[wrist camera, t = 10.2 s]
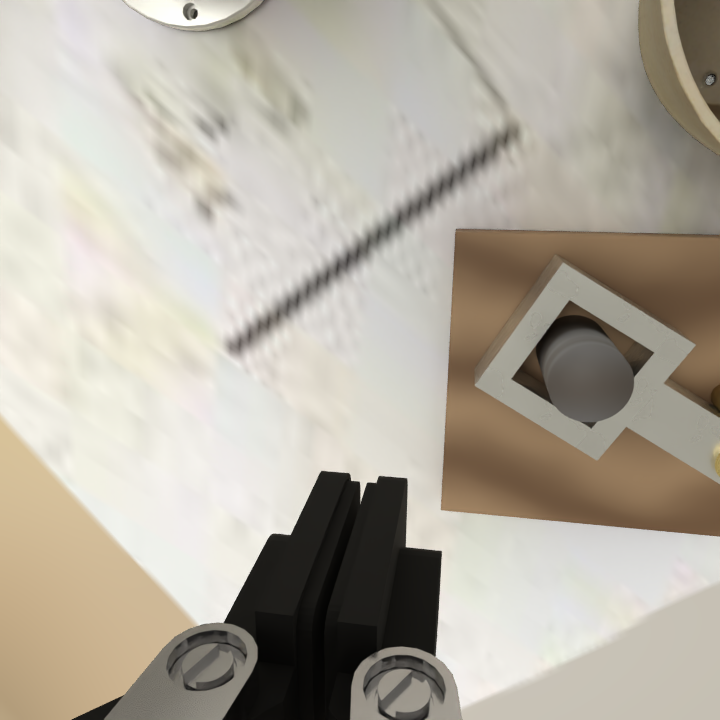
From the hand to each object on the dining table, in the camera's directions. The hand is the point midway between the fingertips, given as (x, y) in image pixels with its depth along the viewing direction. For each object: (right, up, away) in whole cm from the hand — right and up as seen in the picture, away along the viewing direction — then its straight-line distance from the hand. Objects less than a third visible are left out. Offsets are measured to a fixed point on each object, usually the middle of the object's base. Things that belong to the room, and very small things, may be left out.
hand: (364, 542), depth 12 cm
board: (+14, +2, +26) cm, 30 cm away
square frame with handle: (+15, +2, +24) cm, 28 cm away
